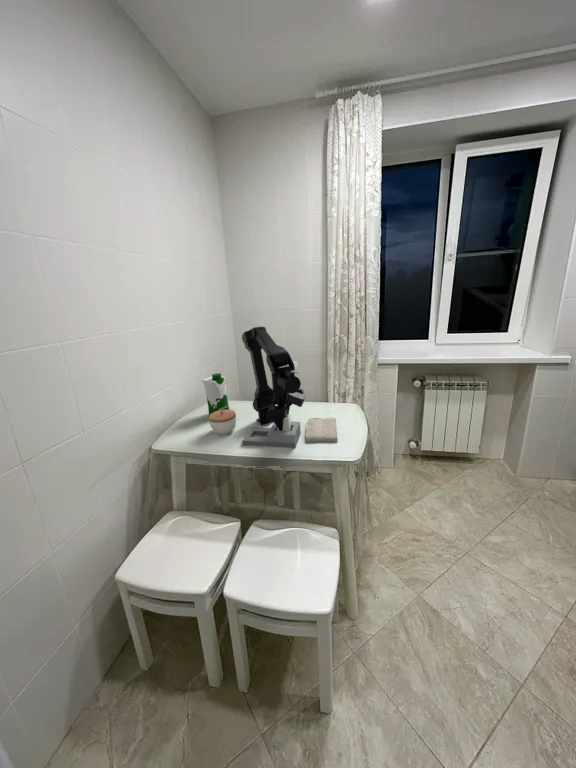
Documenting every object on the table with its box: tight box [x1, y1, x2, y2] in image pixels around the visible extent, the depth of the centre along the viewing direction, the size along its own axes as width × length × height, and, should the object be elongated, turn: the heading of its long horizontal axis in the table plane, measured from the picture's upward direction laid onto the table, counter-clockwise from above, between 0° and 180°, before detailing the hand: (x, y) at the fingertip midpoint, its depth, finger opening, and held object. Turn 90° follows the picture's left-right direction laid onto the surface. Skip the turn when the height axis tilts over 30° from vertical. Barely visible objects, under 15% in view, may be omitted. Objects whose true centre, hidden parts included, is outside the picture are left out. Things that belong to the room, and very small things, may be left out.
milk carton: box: [202, 372, 230, 416], centre depth 135 cm, size 9×9×20 cm
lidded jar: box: [208, 409, 237, 436], centre depth 119 cm, size 11×11×9 cm
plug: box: [277, 414, 292, 431], centre depth 109 cm, size 4×3×7 cm, turn 78°
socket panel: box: [241, 420, 302, 449], centre depth 111 cm, size 20×11×5 cm, turn 78°
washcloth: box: [305, 417, 339, 443], centre depth 115 cm, size 12×18×3 cm, turn 175°
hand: (283, 425), depth 109 cm, fingers open, 8 cm apart
